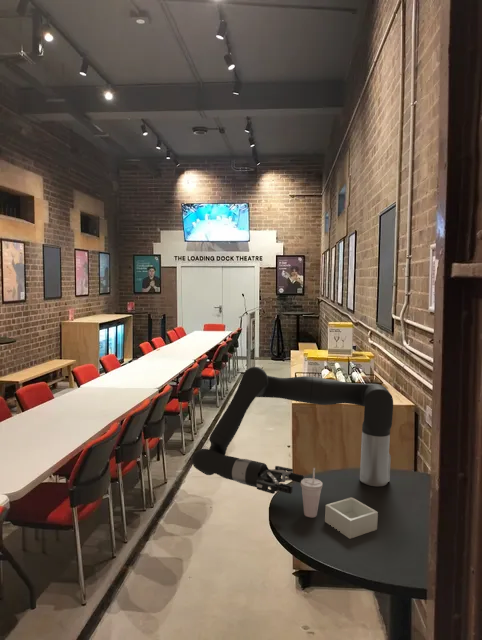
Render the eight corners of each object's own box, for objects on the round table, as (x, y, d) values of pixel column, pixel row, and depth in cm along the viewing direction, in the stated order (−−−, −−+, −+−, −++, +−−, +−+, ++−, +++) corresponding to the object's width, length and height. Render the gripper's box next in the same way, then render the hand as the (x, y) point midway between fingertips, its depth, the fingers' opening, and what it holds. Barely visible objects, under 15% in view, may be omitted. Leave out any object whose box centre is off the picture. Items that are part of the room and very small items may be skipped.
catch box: (351, 513, 140) (352, 497, 139) (377, 529, 131) (377, 512, 130) (324, 521, 134) (325, 504, 134) (349, 538, 126) (350, 520, 125)
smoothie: (321, 521, 135) (322, 473, 134) (298, 518, 136) (300, 471, 135) (321, 510, 141) (323, 464, 140) (300, 507, 142) (301, 462, 141)
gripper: (238, 468, 141) (288, 481, 134) (260, 453, 154) (307, 464, 146) (238, 492, 142) (287, 506, 134) (260, 476, 154) (306, 487, 146)
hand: (297, 484), depth 140 cm, fingers open, 8 cm apart
